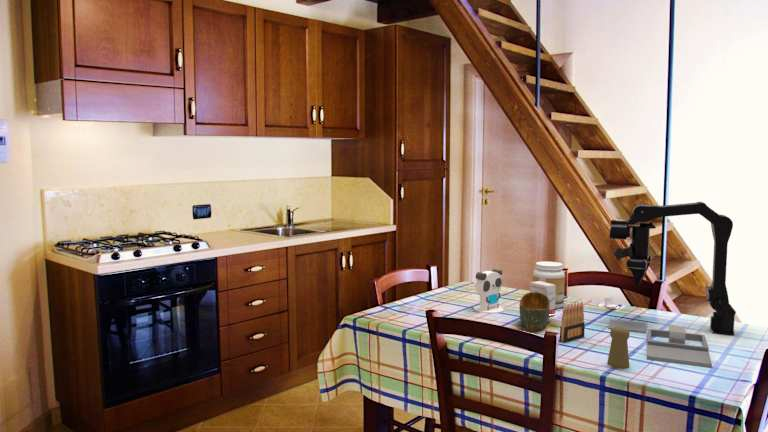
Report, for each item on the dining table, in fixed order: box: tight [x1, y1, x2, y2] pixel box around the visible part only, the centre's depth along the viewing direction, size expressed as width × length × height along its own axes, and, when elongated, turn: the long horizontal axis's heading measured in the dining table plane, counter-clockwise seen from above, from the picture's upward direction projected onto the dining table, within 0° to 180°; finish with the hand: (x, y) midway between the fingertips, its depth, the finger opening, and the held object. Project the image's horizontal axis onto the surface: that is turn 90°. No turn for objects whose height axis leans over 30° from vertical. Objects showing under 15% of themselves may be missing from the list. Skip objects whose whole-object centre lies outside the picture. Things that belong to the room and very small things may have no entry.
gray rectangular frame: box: [646, 328, 713, 368], centre depth 194 cm, size 17×28×2 cm, turn 157°
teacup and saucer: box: [597, 296, 620, 310], centre depth 247 cm, size 9×8×4 cm
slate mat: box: [608, 318, 647, 334], centre depth 219 cm, size 12×12×1 cm
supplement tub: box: [532, 261, 566, 310], centre depth 247 cm, size 12×12×17 cm
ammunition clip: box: [559, 301, 586, 344], centre depth 203 cm, size 11×2×12 cm, turn 127°
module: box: [667, 325, 687, 345], centre depth 200 cm, size 4×7×5 cm, turn 157°
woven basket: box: [519, 291, 550, 332], centre depth 219 cm, size 13×20×10 cm, turn 136°
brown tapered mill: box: [606, 327, 630, 370], centre depth 179 cm, size 6×6×11 cm
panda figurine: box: [473, 268, 505, 314], centre depth 240 cm, size 12×11×15 cm
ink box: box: [529, 281, 556, 314], centre depth 234 cm, size 9×5×12 cm, turn 33°
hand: (638, 284), depth 222 cm, fingers open, 9 cm apart
